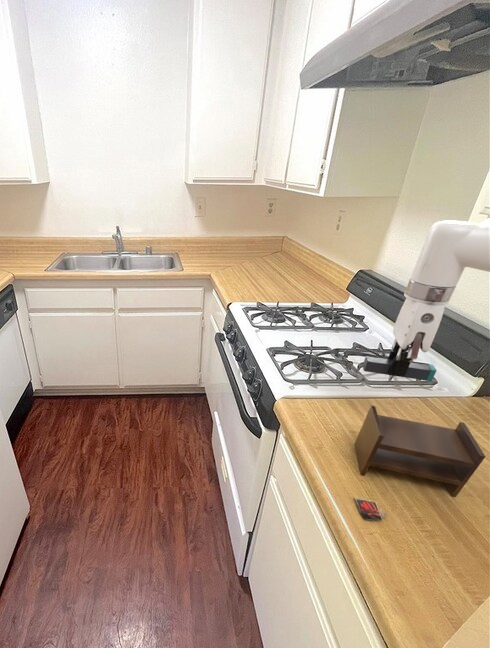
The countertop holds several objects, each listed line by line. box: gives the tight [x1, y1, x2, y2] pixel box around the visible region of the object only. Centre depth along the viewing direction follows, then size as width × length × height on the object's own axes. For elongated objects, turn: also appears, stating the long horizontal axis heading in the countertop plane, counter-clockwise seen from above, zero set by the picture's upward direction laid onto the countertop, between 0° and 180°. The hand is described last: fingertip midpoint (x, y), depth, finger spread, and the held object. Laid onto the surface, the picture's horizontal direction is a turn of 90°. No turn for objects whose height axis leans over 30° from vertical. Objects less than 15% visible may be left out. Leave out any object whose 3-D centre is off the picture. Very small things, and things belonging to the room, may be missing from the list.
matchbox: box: [353, 497, 387, 522], centre depth 64 cm, size 5×5×1 cm
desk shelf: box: [354, 405, 486, 498], centre depth 70 cm, size 17×10×11 cm, turn 72°
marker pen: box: [362, 355, 438, 382], centre depth 77 cm, size 13×3×3 cm, turn 72°
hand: (394, 371), depth 78 cm, fingers closed on marker pen, 2 cm apart
